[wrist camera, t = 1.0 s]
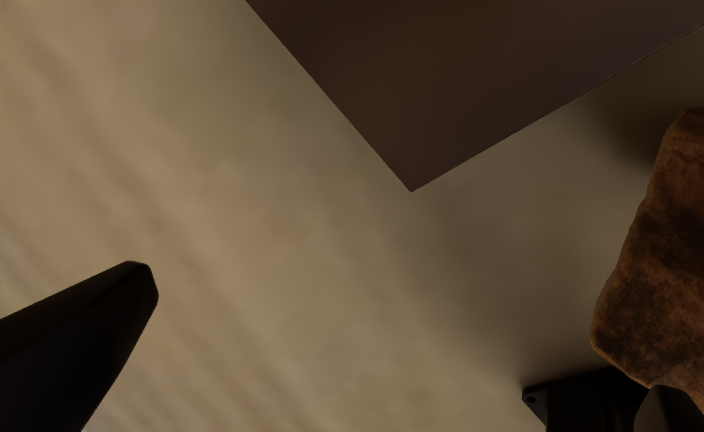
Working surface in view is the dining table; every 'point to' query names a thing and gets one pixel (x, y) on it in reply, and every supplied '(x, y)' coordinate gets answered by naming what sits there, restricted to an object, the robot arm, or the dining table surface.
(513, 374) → the dining table surface
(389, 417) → the dining table surface
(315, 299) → the dining table surface
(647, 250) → the decorative rock
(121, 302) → the robot arm
